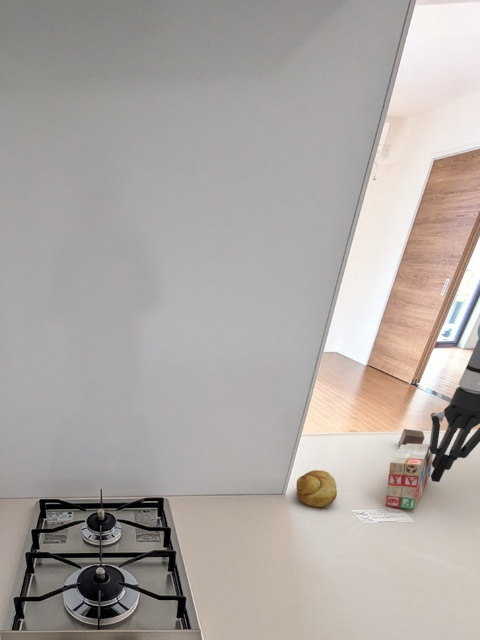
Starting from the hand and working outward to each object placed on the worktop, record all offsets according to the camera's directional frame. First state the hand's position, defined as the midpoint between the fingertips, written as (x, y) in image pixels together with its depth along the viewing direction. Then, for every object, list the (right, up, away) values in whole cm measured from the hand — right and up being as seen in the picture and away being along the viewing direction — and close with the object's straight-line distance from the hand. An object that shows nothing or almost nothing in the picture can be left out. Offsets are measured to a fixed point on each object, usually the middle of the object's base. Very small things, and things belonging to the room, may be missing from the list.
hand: (434, 479), depth 112 cm
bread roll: (-29, -5, +4) cm, 30 cm away
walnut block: (+12, +12, +26) cm, 31 cm away
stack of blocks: (-4, -3, +4) cm, 6 cm away
